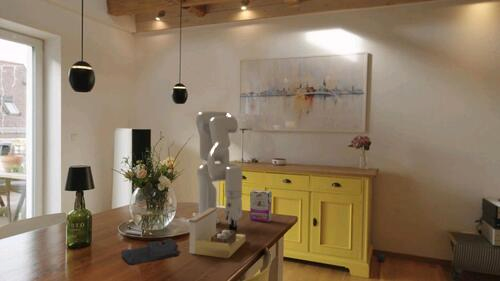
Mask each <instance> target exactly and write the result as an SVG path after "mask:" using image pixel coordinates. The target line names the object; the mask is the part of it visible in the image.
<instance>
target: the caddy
mask: <svg viewBox="0 0 500 281" xmlns="http://www.w3.org/2000/svg"><path fill="white" fill-rule="evenodd" d="M217 232H218V233H216V234H215V235H214V236H212V237H211V242H219V243H227V244H229V246H230V245H231V244H232V243H234V242H235V241H236V231H234V230H229V229H223V228H222V229H221V230H218V231H217Z"/></svg>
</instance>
